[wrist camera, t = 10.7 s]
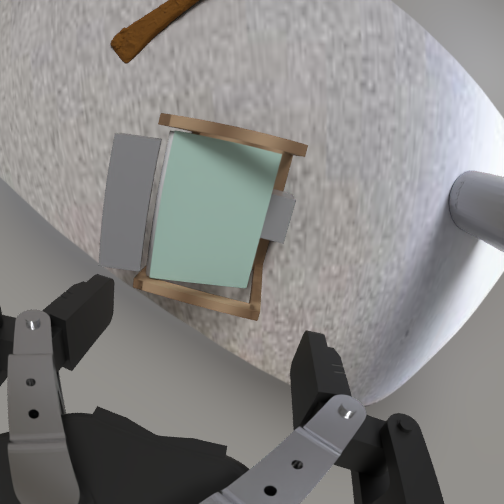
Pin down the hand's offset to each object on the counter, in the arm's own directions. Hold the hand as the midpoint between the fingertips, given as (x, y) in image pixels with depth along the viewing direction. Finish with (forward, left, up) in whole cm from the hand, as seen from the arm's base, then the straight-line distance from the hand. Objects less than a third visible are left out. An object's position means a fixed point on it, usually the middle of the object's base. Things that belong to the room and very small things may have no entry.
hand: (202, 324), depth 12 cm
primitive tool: (+17, -24, -29) cm, 41 cm away
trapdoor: (+6, 0, -18) cm, 19 cm away
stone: (0, 0, -25) cm, 25 cm away
